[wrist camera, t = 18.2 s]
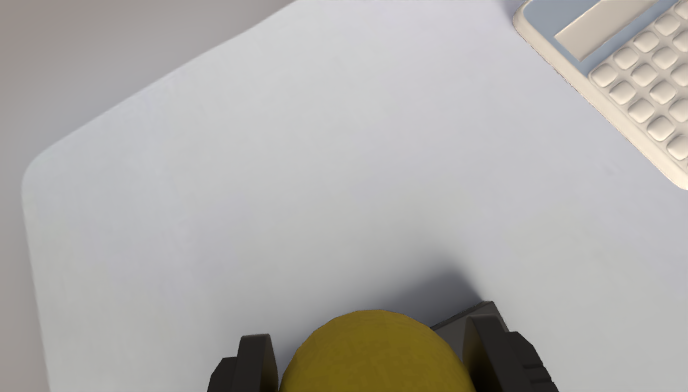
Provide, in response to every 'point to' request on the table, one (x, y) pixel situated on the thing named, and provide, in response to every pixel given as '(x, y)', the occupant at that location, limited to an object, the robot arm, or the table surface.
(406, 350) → the lemon
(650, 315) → the table surface
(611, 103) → the calculator
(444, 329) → the scale
